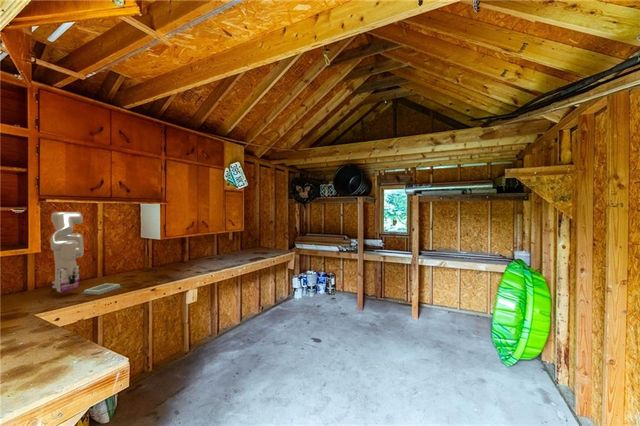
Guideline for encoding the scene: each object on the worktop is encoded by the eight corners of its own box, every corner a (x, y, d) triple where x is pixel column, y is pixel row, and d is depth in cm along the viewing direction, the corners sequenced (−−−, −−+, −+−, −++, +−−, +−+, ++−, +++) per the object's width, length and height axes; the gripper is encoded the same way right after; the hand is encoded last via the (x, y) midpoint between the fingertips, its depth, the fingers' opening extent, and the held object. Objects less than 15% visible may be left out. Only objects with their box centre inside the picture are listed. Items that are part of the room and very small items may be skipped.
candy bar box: (75, 287, 194) (75, 265, 194) (79, 288, 193) (79, 266, 192) (55, 291, 184) (56, 268, 183) (60, 292, 182) (60, 269, 182)
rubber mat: (80, 294, 191) (80, 293, 191) (104, 286, 211) (104, 285, 211) (100, 295, 190) (100, 294, 190) (123, 287, 210) (123, 286, 210)
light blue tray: (83, 293, 192) (83, 290, 192) (105, 285, 210) (106, 283, 210) (98, 293, 191) (98, 291, 191) (119, 286, 209) (119, 284, 209)
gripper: (51, 259, 184) (51, 284, 185) (74, 260, 183) (73, 286, 184) (63, 257, 192) (62, 281, 193) (84, 258, 191) (84, 282, 191)
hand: (68, 283), depth 188 cm, fingers closed on candy bar box, 5 cm apart
